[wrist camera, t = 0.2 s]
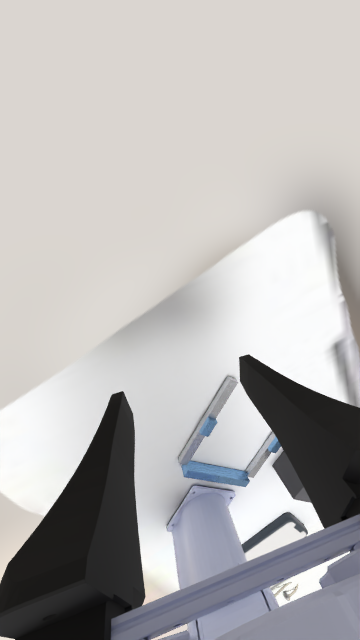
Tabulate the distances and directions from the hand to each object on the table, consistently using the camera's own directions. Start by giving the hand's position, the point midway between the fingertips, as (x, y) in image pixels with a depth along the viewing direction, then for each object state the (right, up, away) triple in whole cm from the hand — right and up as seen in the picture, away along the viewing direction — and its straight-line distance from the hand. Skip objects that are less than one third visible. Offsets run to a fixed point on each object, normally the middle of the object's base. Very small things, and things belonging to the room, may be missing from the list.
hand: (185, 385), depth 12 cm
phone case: (+16, -40, +29) cm, 51 cm away
